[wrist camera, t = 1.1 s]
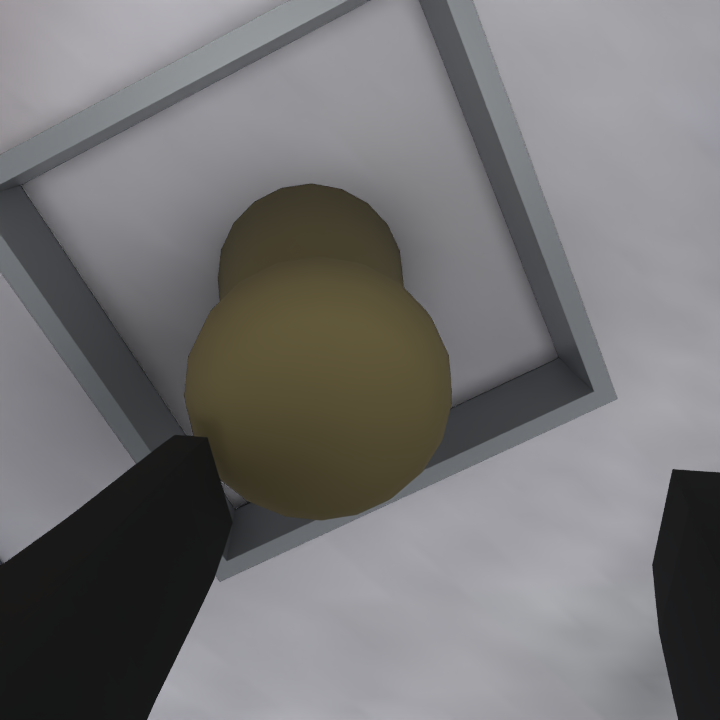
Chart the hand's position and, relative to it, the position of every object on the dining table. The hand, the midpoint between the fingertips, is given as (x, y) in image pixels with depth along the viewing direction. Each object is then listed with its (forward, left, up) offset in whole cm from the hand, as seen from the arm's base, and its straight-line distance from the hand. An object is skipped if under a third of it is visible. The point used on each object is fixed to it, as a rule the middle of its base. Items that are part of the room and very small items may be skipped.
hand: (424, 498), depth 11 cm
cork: (-1, +1, -13) cm, 13 cm away
